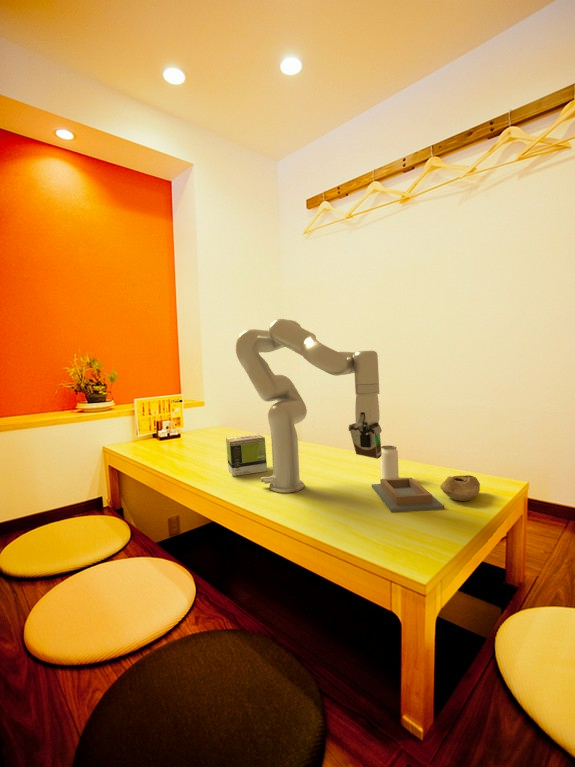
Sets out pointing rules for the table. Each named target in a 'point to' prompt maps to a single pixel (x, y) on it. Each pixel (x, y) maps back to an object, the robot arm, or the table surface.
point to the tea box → (246, 454)
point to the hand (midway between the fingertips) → (370, 444)
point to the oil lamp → (461, 487)
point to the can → (389, 462)
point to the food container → (374, 437)
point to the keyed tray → (405, 495)
